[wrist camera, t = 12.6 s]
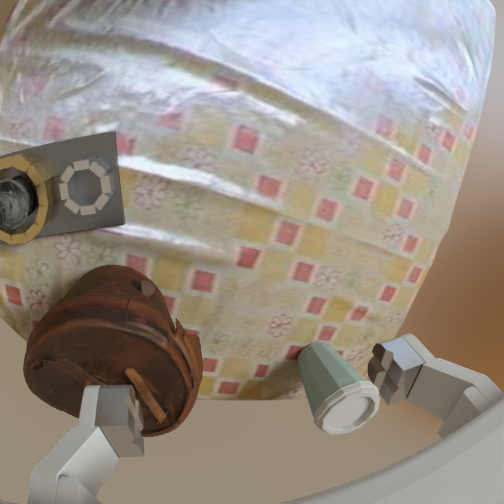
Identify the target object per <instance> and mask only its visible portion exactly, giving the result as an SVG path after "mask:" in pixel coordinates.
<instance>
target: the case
mask: <svg viewBox="0 0 504 504" xmlns="http://www.w3.org/2000/svg"><path fill="white" fill-rule="evenodd" d="M23 371H24V377H25V381H26V383H27V385H28V387H29V389H30V390H31V391H32V392H33V393H34V394H35V395H36V396H38V397H39V398H40V399H41V400H43V401H44V402H46V403H47V404H49V405H50V406H52V407H55V408H56V409H58V410H61V411H64V412H66V413H68V414H70V415H72V416H74V417H77V418H79V415H80V409H81V404H82V398H83V393H84V389H85V387H86V386H87V385H132V386H133V388H134V390H135V399H136V400H138V401H139V403H140V406H141V409H142V414H143V426H144V428H143V429H142V431H141V435H142V437H153V436H159V435H163V434H166V433H169V432H171V431H173V430H175V429H176V428H177V427H178V426H179V425H180V424H181V423H182V422H183V421H184V420H185V419H186V417H187V416H188V415H189V413H190V411H191V410H192V408H193V406H194V404H195V401H196V398H197V395H198V390H199V386H200V383H201V380H202V372H203V362H202V354H201V346H200V340H199V337H198V336H196V335H191V334H187V333H186V332H185V331H184V329H183V327H182V325H181V324H180V322H179V321H178V320H177V319H176V328H175V326H174V324H173V321H172V319H171V316H170V314H169V311H168V308H167V305H166V302H165V299H164V297H163V295H162V293H161V292H160V290H159V289H158V288H157V286H156V285H155V284H154V283H153V282H152V281H151V280H150V279H148V278H147V277H146V276H145V275H143V274H141V273H140V272H138V271H136V270H134V269H132V268H129V267H125V266H120V265H106V266H101V267H98V268H96V269H94V270H92V271H90V272H89V273H88V274H86V275H85V276H84V277H83V278H82V279H81V280H80V281H79V282H78V283H77V284H76V285H75V286H74V287H73V288H72V289H71V290H70V291H69V292H68V293H67V294H66V295H65V296H64V297H63V298H62V299H61V300H60V301H59V302H58V303H57V304H56V305H55V306H54V307H53V308H52V309H50V310H49V311H48V312H47V313H46V314H45V315H44V316H43V318H42V319H41V320H40V321H39V323H38V324H37V325H36V327H35V329H34V330H33V331H32V332H31V335H30V337H29V340H28V343H27V350H26V354H25V359H24V367H23Z"/></svg>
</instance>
